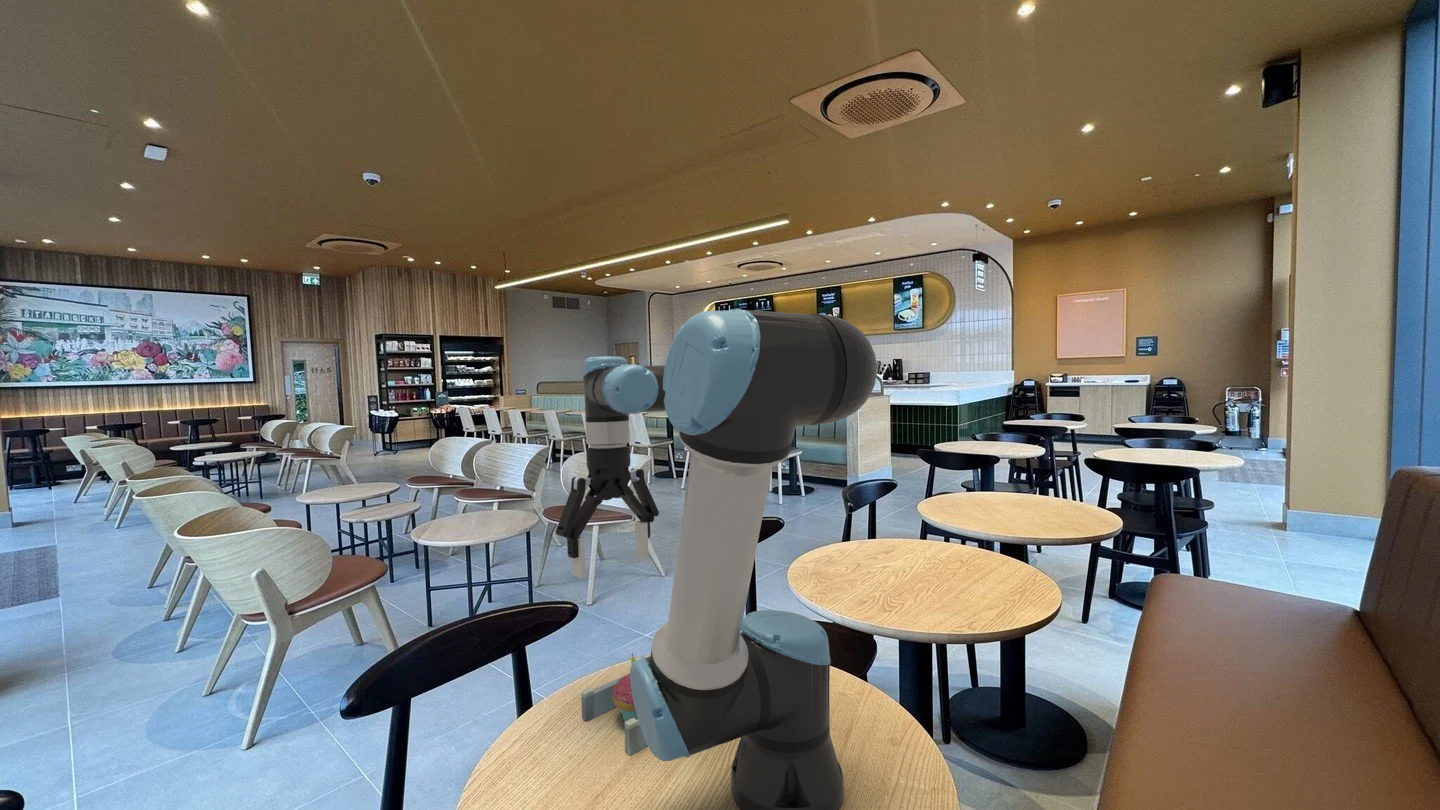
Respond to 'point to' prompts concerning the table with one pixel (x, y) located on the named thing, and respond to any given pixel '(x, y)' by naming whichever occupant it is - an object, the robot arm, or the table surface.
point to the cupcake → (625, 697)
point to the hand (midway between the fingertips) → (612, 566)
